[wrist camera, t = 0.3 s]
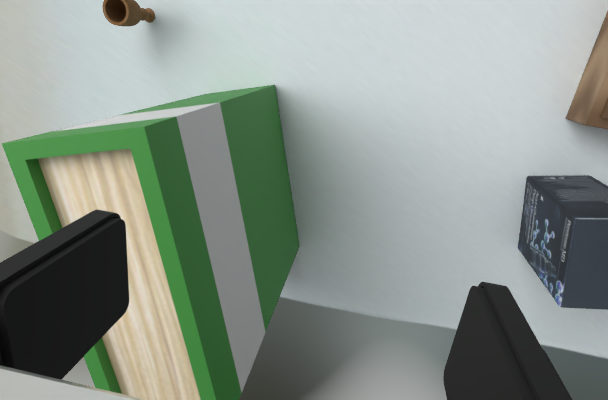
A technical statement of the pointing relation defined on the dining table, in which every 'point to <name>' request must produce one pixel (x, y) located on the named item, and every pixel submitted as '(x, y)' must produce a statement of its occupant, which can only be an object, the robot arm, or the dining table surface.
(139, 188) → the hardback book
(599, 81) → the walnut plinth
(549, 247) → the box
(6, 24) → the dining table surface
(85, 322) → the robot arm
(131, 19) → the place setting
